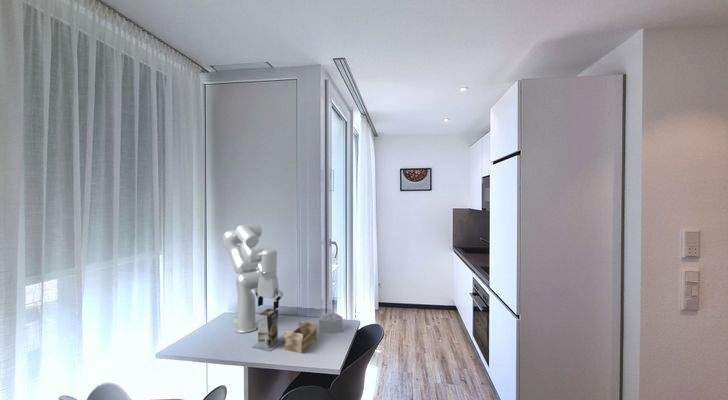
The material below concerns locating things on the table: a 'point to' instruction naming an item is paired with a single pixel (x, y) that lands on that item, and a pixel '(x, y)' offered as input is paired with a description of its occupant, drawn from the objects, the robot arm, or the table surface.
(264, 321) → the coffee box
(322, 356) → the table surface
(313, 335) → the carton
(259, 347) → the mat
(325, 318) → the lumpy-topped squat cylinder
